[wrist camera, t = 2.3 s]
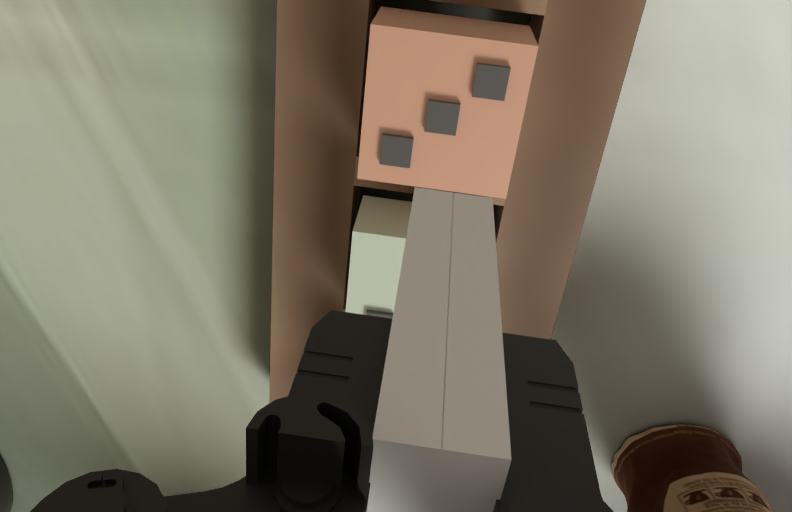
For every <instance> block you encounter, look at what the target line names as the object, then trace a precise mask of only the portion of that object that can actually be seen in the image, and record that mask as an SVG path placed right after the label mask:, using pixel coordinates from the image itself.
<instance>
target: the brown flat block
mask: <svg viewBox="0 0 792 512" xmlns="http://www.w3.org/2000/svg"><path fill="white" fill-rule="evenodd" d="M430 1H437V2H445V3H453V4H460V5H468V6H476V7H483V8H491V9H499V10H506V11H514V12H522V13H529V14H532V18H531V23H530V28H531V30H532V32H533V35H534V37H535V39H536V42H537V44H538V51H537V56H536V60H535V65H534V70H533V75H532V79H531V84H530V89H529V93H528V98H527V103H526V107H525V112H524V117H523V122H522V126H521V131H520V136H519V140H518V145H517V150H516V155H515V159H514V164H513V169H512V173H511V178H510V183H509V187H508V192H507V197H506V199H503V198H496V197H489V198H493V210H494V224H495V238H496V252H497V266H498V280H499V294H500V308H501V321H502V333H509V334H516V335H523V336H530V337H537V338H543V339H551V336H552V332H553V329H554V325H555V322H556V318H557V315H558V311H559V307H560V304H561V300H562V297H563V293H564V290H565V286H566V283H567V279H568V276H569V272H570V269H571V265H572V261H573V258H574V254H575V251H576V247H577V244H578V240H579V237H580V233H581V230H582V226H583V222H584V219H585V215H586V212H587V208H588V205H589V201H590V198H591V194H592V191H593V187H594V184H595V180H596V176H597V173H598V169H599V166H600V162H601V159H602V155H603V152H604V148H605V145H606V141H607V138H608V134H609V130H610V127H611V123H612V120H613V116H614V113H615V109H616V106H617V102H618V99H619V95H620V92H621V88H622V84H623V81H624V77H625V74H626V70H627V67H628V63H629V60H630V56H631V53H632V49H633V46H634V42H635V38H636V35H637V31H638V28H639V24H640V21H641V17H642V14H643V10H644V7H645V3H646V0H430ZM377 9H378V0H277V30H276V83H275V136H274V189H273V242H272V295H271V348H270V401H269V404H270V403H271V402H273V401H274V400H276V399H280V398H283V397H287V396H288V395H289V392H290V389H291V386H292V383H293V380H294V377H295V375H296V374H297V369H298V366H299V363H300V360H301V357H302V355H303V353H304V348H305V345H306V342H307V339H308V337H309V334H310V331H311V328H312V327H313V326H314V325H315V324H316V323H317V322H318V321H319V320H321V319H322V318H323V317H324V316H325V315H326V314H327V313H328V312H330V311H331V310H335V311H342V312H346V301H347V289H348V278H349V266H350V255H351V243H352V232H353V228H354V225H355V221H356V218H357V215H358V212H359V206H360V195H361V187H369V188H376V189H383V190H391V191H398V192H405V193H413V194H414V189H415V186H407V185H400V184H393V183H385V182H378V181H371V180H363V179H357V174H358V163H359V151H360V140H361V129H362V117H363V106H364V94H365V83H366V71H367V60H368V48H369V37H370V25H371V23H372V21H373V19H374V18H375V16H376V14H377ZM417 188H422V187H417ZM424 189H429V188H424ZM431 190H437V189H431ZM438 191H444V190H438ZM446 192H452V191H446ZM453 193H459V192H453ZM460 194H466V193H460ZM467 195H474V194H467ZM474 196H481V195H474ZM481 197H488V196H481Z"/></svg>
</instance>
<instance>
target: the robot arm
mask: <svg viewBox="0 0 792 512" xmlns="http://www.w3.org/2000/svg"><path fill="white" fill-rule="evenodd" d="M582 410H583V408H582V403H581V399H580V394H579V393H578V384H577V380H576V375H575V370H574V365H573V363H572V361H571V360H570V359H569V357H568V356H567V355H566V353H565V352H564V351H563V350H562V348H561V347H560V346H559V344H558V343H557V342H556V340H550V339H543V338H537V337H530V336H523V335H516V334H509V333H502V321H501V308H500V294H499V280H498V266H497V252H496V238H495V224H494V210H493V198H489V197H481V196H474V195H467V194H460V193H453V192H446V191H438V190H431V189H424V188H417V187H415V189H414V195H413V201H412V207H411V212H410V218H409V224H408V230H407V236H406V242H405V248H404V254H403V260H402V266H401V272H400V277H399V283H398V289H397V295H396V301H395V307H394V313H393V319H390V318H383V317H376V316H369V315H363V314H356V313H349V312H342V311H335V310H331V311H330V312H328V313H327V314H326V315H325V316H324V317H323V318H322V319H321V320H319V321H318V322H317V323H316V324H315V325H314V326H313V327H312V328H311V331H310V334H309V337H308V339H307V342H306V345H305V348H304V353H303V355H302V357H301V360H300V363H299V366H298V369H297V374H296V375H295V377H294V380H293V383H292V386H291V389H290V392H289V395H288V396H287V397H283V398H280V399H276V400H274V401H273V402H271V403H270V404H268V405H267V406H265V407H264V408H262V409H260V410H259V411H257V413H256V414H255V416H254V417H253V419H252V420H251V421H250V423H249V424H248V426H247V427H246V476H245V477H244V478H242V479H241V480H239V481H237V482H234V483H232V484H230V485H227V486H225V487H223V488H218V489H214V490H209V491H205V492H198V493H190V494H182V495H174V496H166V497H163V495H162V493H161V492H160V490H159V488H158V486H157V484H155V483H154V482H152V481H150V480H149V479H147V478H146V477H144V476H143V475H141V474H140V473H135V472H129V471H124V470H119V469H114V470H105V471H97V472H90V473H88V474H85V475H83V476H80V477H78V478H75V479H73V480H70V481H68V482H65V483H64V484H62V485H61V486H60V487H58V488H57V489H56V490H54V491H53V492H52V493H50V494H49V495H48V496H46V497H45V498H44V499H43V500H41V501H40V502H39V503H38V504H37V505H36V506H35V507H34V508H33V509H32V510H31V511H30V512H613V511H612V509H611V508H610V507H609V506H608V505H607V504H606V503H605V502H604V501H603V499H602V496H601V493H600V489H599V484H598V479H597V475H596V470H595V465H594V460H593V456H592V451H591V446H590V441H589V437H588V432H587V427H586V422H585V418H584V414H582ZM12 502H13V489H12V483H11V479H10V476H9V473H8V471H7V468H6V466H5V464H4V462H3V461H2V459H1V457H0V512H10V511H11V507H12Z"/></svg>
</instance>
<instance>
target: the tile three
mask: <svg viewBox="0 0 792 512" xmlns="http://www.w3.org/2000/svg"><path fill="white" fill-rule="evenodd" d="M537 51H538V44H537V42H536V39H535V37H534V35H533V32H532V30H531V28H530V26H527V25H519V24H512V23H504V22H497V21H489V20H481V19H474V18H466V17H458V16H451V15H443V14H435V13H428V12H420V11H413V10H405V9H397V8H390V7H382V6H381V7H380V9H379V11H378V12H377V14H376V16H375V18H374V19H373V21H372V23H371V25H370V37H369V48H368V60H367V71H366V83H365V94H364V106H363V117H362V129H361V140H360V151H359V163H358V174H357V179H363V180H371V181H378V182H385V183H393V184H400V185H407V186H415V187H422V188H429V189H437V190H444V191H452V192H459V193H466V194H474V195H481V196H488V197H496V198H503V199H506V197H507V192H508V187H509V183H510V178H511V173H512V169H513V164H514V159H515V155H516V150H517V145H518V140H519V136H520V131H521V126H522V122H523V117H524V112H525V107H526V103H527V98H528V93H529V89H530V84H531V79H532V75H533V70H534V65H535V60H536V56H537Z"/></svg>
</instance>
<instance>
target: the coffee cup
mask: <svg viewBox="0 0 792 512" xmlns="http://www.w3.org/2000/svg"><path fill="white" fill-rule="evenodd" d="M611 467H612V474H613V477H614V480H615V482H616V484H617V485H618V487H619V488H620V490H621V491H622V492H623V494H624V496H625V498H626V501H627V506H628V511H627V512H773V511H772V509H771V507H770V505H769V503H768V501H767V499H766V498H765V496H764V495H763V494H762V493H761V492H760V490H759V489H758V488H757V487H756V486H755V484H754V483H752V482H751V481H750V480H749V479H748V478H746V477H745V476H744V475H743V473H742V461H741V457H740V455H739V453H738V451H737V450H736V448H735V447H734V445H733V444H732V443H731V442H730V441H729V440H728V439H727V438H725V437H724V436H722V435H721V434H719V433H718V432H716V431H714V430H712V429H710V428H706V427H701V426H695V425H670V426H663V427H655V428H650V429H648V430H647V431H645V432H642V433H640V434H637V435H634V436H631V437H629V438H628V439H626V441H625V442H624V443H623V445H622V447H621V449H620V450H619V451H618V452H616V454H615V455H614V461H613V463H612V465H611Z"/></svg>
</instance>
